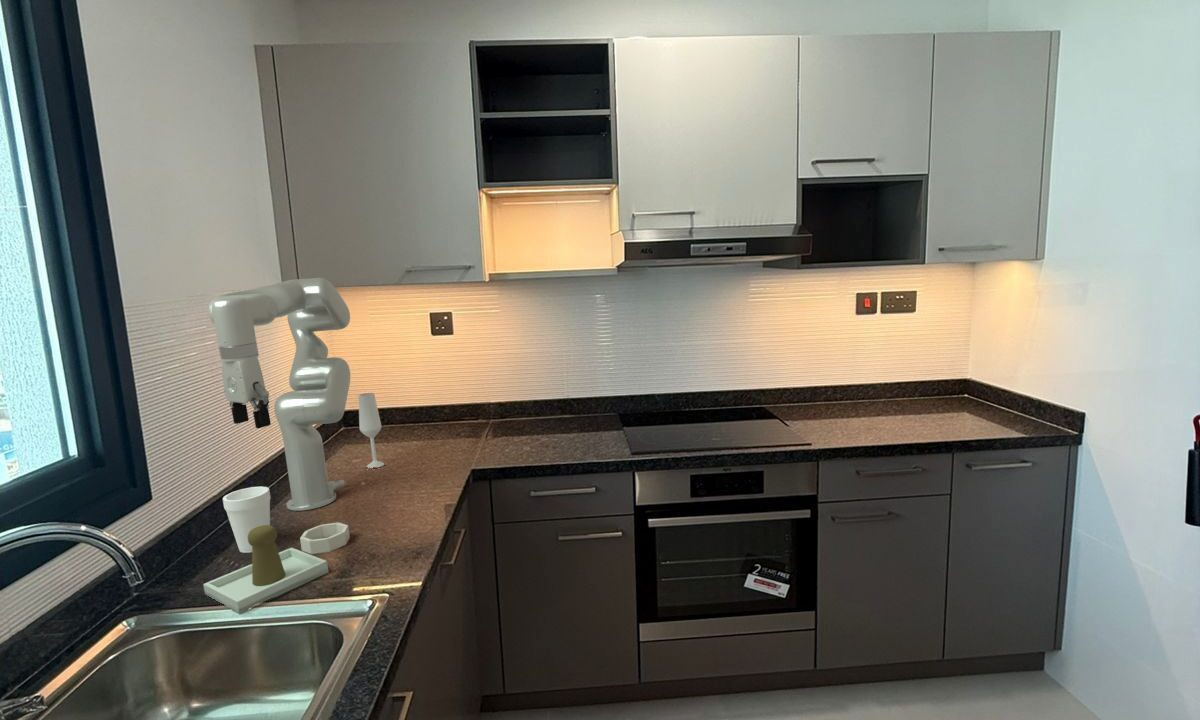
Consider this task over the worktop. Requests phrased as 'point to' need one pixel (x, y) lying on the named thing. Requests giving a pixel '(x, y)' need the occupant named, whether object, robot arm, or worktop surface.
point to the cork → (265, 556)
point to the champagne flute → (369, 422)
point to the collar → (317, 542)
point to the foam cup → (247, 512)
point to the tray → (244, 594)
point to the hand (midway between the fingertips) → (252, 424)
